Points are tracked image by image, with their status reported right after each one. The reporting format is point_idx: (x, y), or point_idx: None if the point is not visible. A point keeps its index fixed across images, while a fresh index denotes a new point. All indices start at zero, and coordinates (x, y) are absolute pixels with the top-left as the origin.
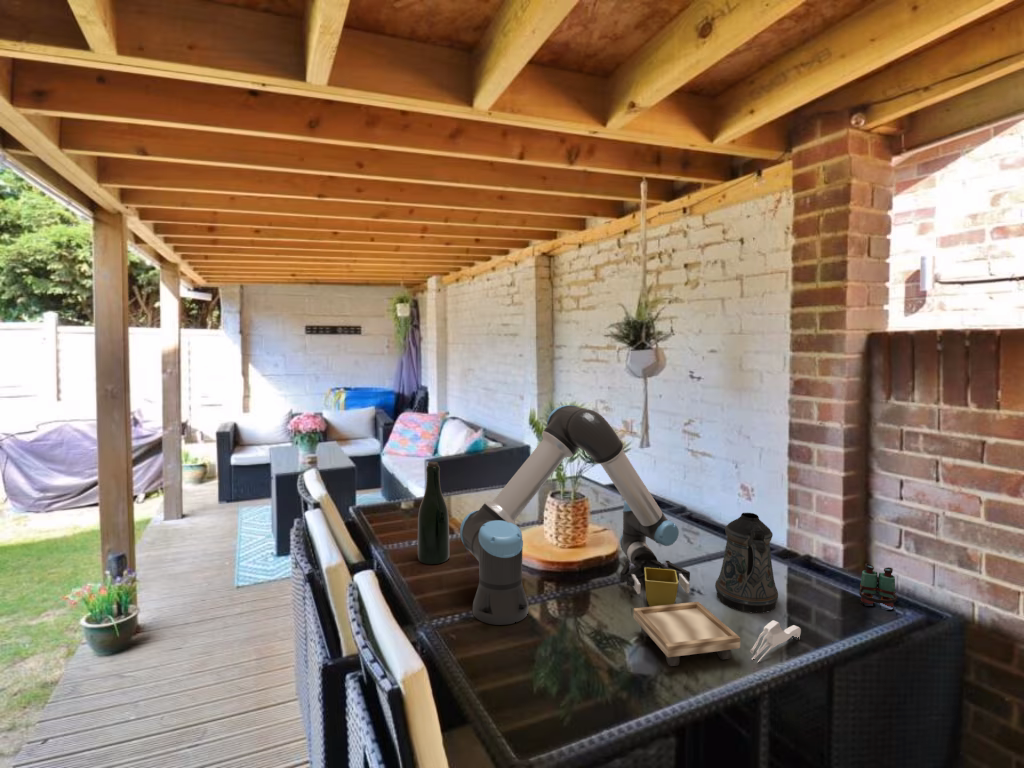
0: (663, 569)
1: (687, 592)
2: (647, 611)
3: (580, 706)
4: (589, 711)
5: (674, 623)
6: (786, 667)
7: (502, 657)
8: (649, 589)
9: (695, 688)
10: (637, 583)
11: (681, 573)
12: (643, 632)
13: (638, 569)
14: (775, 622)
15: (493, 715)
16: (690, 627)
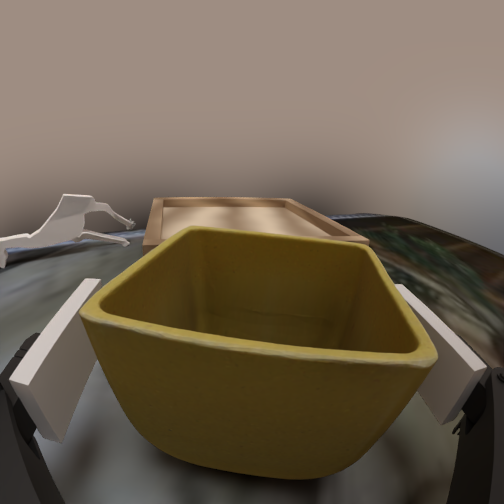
0: (205, 333)
1: None
2: None
3: (379, 228)
4: (369, 225)
5: (261, 227)
6: None
7: (489, 263)
8: (336, 291)
9: None
10: (406, 288)
11: (2, 387)
12: None
13: (485, 497)
14: (67, 194)
15: (436, 230)
16: (227, 221)
